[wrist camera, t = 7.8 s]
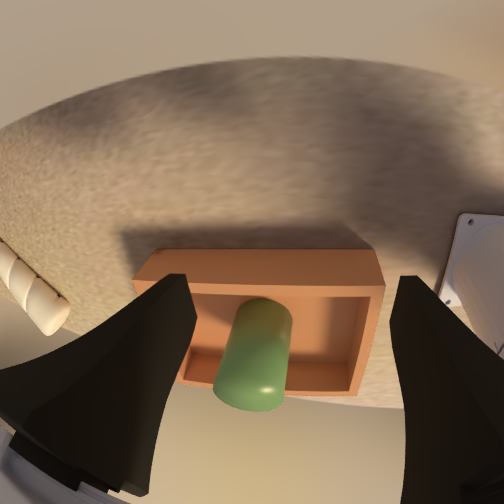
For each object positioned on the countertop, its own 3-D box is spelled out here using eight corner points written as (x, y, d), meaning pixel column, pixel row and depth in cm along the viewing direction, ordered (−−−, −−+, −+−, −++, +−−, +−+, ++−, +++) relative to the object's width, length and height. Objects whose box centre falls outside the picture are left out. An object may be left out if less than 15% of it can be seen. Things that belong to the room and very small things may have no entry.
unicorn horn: (-36, 175, 22) (-61, 191, 18) (76, 301, 29) (53, 329, 25) (-37, 200, 25) (-60, 216, 21) (68, 317, 31) (48, 344, 27)
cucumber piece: (291, 298, 21) (281, 378, 16) (293, 339, 24) (284, 413, 18) (231, 297, 22) (205, 372, 16) (240, 337, 25) (220, 407, 19)
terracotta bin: (374, 249, 19) (385, 285, 16) (354, 360, 25) (356, 395, 22) (155, 249, 22) (131, 279, 19) (190, 351, 28) (177, 383, 25)
